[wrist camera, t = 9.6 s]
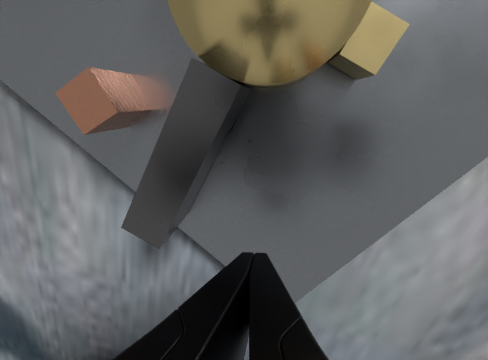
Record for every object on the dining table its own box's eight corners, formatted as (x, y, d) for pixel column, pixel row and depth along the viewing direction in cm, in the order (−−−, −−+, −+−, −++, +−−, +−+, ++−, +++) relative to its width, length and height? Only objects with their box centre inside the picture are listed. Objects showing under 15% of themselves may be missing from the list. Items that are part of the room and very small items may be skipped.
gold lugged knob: (221, -214, 9) (189, -374, 6) (455, -71, 9) (540, -154, 6) (94, 166, 15) (43, 184, 12) (244, 250, 15) (234, 290, 12)
